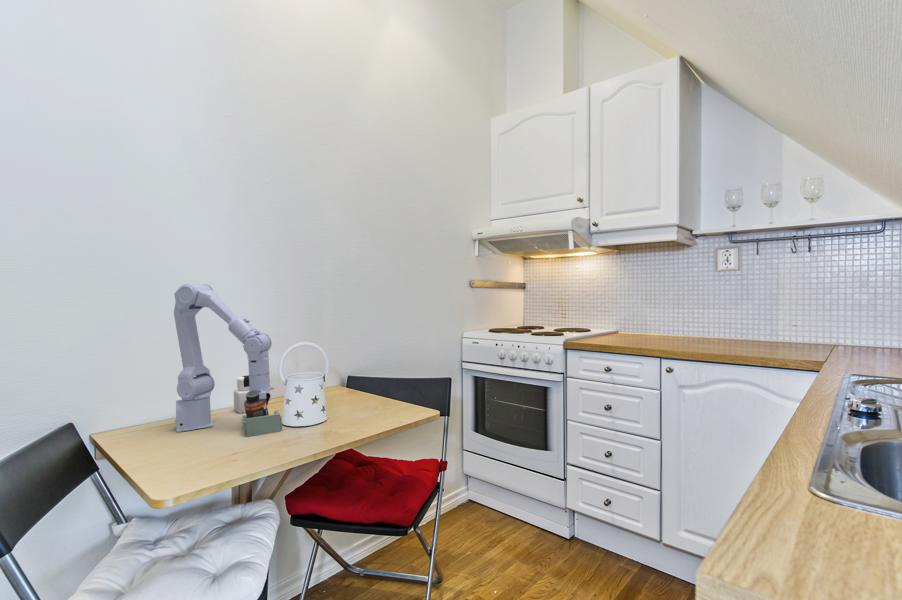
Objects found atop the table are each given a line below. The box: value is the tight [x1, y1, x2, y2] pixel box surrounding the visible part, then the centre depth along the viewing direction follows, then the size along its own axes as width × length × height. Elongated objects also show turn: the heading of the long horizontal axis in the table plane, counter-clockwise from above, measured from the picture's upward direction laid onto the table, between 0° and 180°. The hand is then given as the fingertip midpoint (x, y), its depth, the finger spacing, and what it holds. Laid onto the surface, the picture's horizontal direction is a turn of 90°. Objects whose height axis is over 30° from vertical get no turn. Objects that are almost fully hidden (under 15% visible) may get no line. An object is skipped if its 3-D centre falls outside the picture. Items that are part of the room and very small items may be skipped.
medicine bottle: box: [233, 374, 250, 415], centre depth 158 cm, size 7×7×12 cm
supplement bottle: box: [244, 390, 270, 418], centre depth 132 cm, size 6×6×11 cm
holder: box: [242, 410, 283, 438], centre depth 134 cm, size 10×10×5 cm
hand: (261, 418), depth 137 cm, fingers closed
